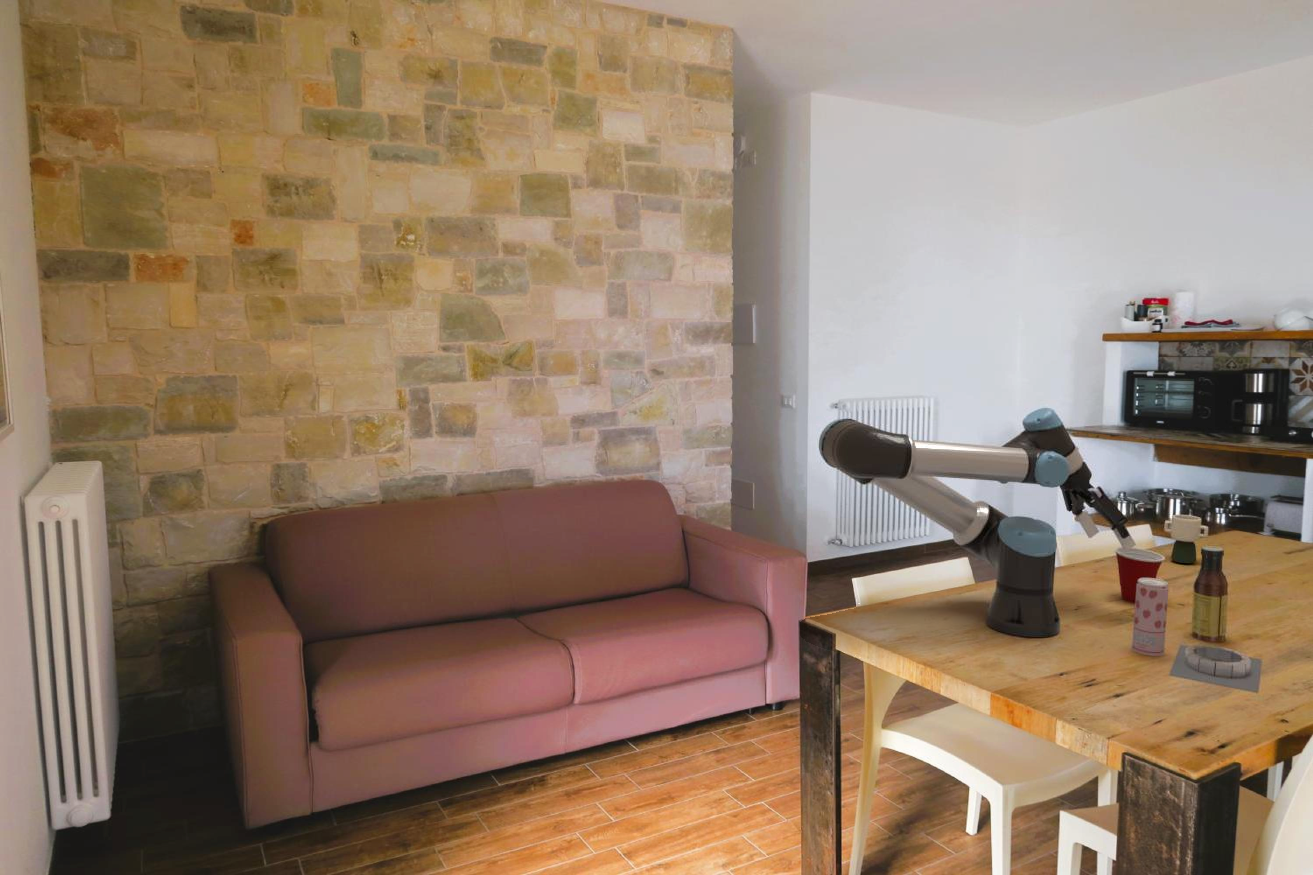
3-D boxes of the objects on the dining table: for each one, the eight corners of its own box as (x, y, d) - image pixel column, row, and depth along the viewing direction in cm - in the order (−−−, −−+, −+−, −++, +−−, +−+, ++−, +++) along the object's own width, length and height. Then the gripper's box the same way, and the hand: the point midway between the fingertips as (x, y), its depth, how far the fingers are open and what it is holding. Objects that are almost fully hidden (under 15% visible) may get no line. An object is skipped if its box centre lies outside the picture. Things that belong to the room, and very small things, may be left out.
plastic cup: (1157, 610, 209) (1161, 560, 207) (1107, 601, 215) (1110, 552, 214) (1165, 598, 217) (1168, 550, 216) (1115, 590, 224) (1119, 544, 222)
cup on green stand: (1209, 563, 249) (1212, 518, 248) (1201, 568, 245) (1205, 522, 243) (1166, 556, 257) (1169, 512, 256) (1157, 561, 252) (1161, 515, 251)
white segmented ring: (1213, 679, 167) (1214, 666, 167) (1172, 658, 177) (1173, 646, 177) (1262, 675, 169) (1263, 662, 168) (1219, 655, 179) (1220, 643, 178)
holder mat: (1257, 695, 161) (1258, 692, 161) (1168, 677, 169) (1169, 674, 169) (1261, 661, 177) (1261, 659, 177) (1180, 646, 185) (1180, 644, 185)
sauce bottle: (1212, 634, 193) (1220, 544, 190) (1232, 644, 186) (1240, 551, 184) (1182, 634, 192) (1189, 544, 190) (1201, 644, 186) (1209, 551, 184)
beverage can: (1127, 652, 182) (1132, 581, 180) (1137, 645, 186) (1142, 575, 184) (1158, 660, 178) (1163, 586, 176) (1167, 653, 181) (1172, 581, 180)
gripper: (1115, 466, 196) (1160, 543, 200) (1051, 452, 221) (1092, 521, 224) (1088, 486, 196) (1133, 563, 199) (1026, 469, 220) (1068, 538, 224)
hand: (1111, 541), depth 212 cm, fingers open, 13 cm apart
